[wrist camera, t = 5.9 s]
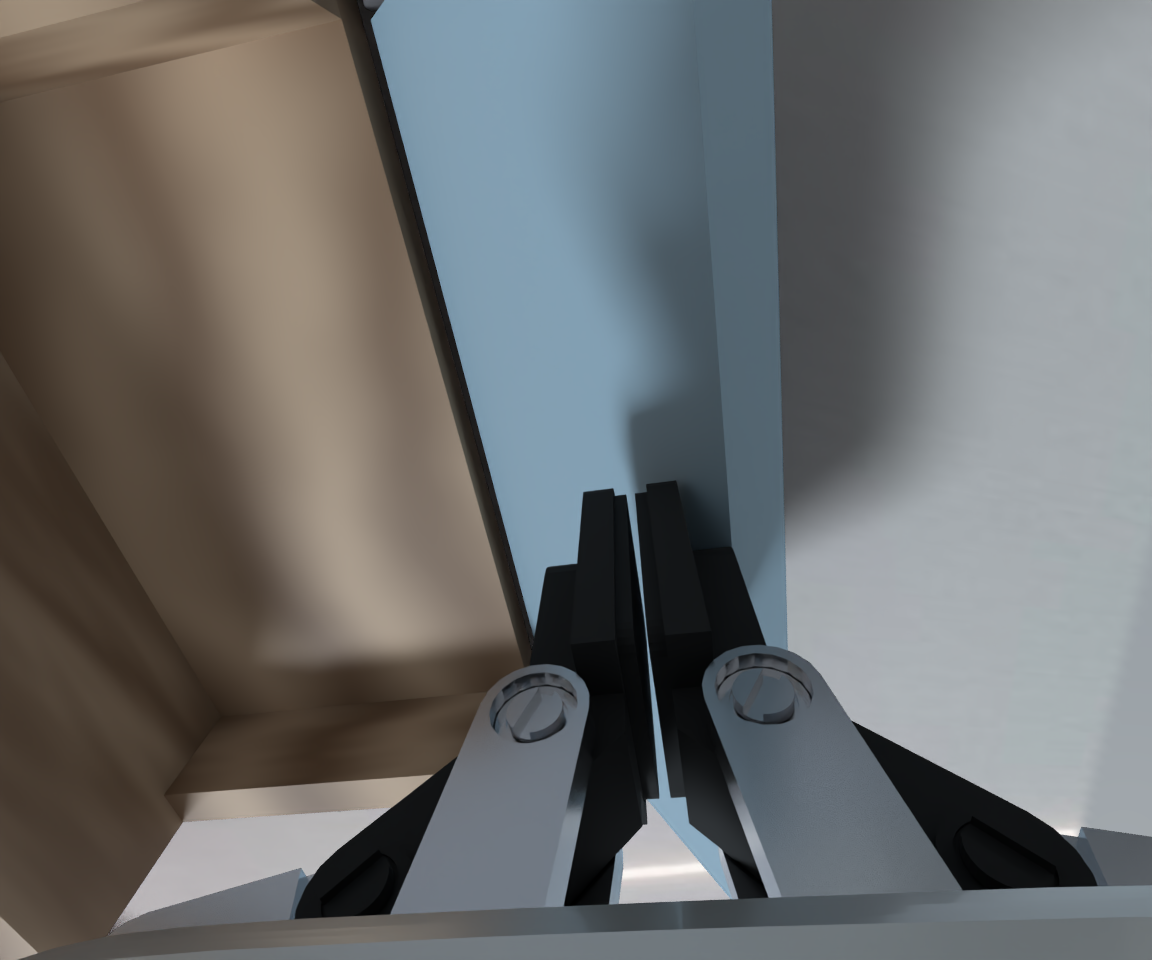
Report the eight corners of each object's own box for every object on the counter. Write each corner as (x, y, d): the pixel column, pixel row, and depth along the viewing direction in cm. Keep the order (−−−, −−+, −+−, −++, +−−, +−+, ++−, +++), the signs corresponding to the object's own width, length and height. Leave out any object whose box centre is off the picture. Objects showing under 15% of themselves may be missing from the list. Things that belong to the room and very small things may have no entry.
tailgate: (418, 17, 15) (762, -368, 6) (570, 661, 24) (793, 900, 15) (370, 20, 14) (664, -401, 5) (544, 676, 23) (758, 932, 14)
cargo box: (416, -59, 14) (83, -479, 5) (583, 683, 24) (569, 969, 16) (-154, 87, 16) (-1105, -36, 7) (224, 716, 26) (28, 987, 18)
